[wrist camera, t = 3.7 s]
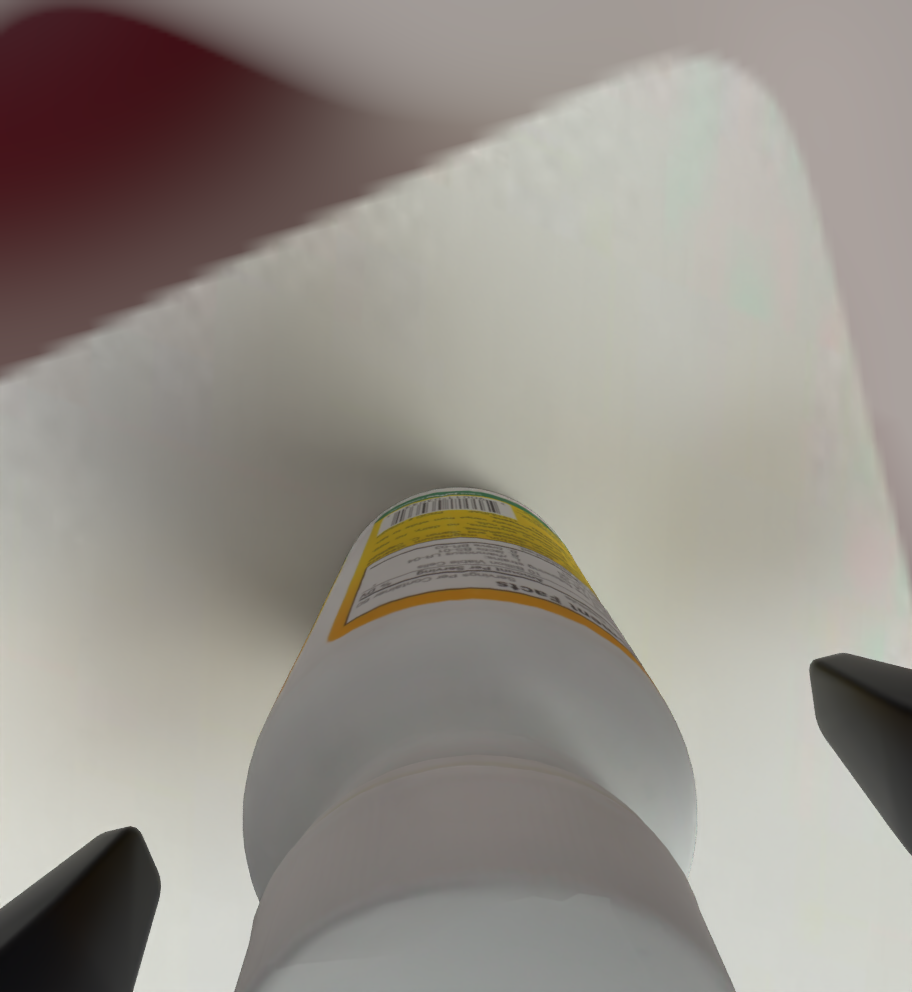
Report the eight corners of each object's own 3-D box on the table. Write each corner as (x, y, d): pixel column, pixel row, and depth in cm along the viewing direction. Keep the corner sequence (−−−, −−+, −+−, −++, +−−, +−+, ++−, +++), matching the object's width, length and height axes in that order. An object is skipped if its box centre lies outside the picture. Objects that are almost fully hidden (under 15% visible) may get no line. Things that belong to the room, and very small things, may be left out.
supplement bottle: (450, 432, 13) (476, 614, 4) (623, 591, 14) (1016, 1078, 4) (289, 607, 14) (-45, 1144, 4) (462, 748, 15) (504, 1451, 5)
